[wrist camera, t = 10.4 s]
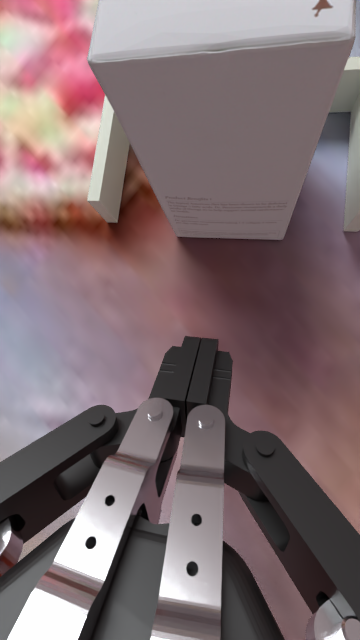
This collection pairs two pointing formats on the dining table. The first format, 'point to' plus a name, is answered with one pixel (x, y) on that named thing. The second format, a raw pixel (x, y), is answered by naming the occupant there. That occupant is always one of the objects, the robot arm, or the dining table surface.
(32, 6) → the dining table surface
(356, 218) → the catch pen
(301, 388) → the dining table surface
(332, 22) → the supplement box
